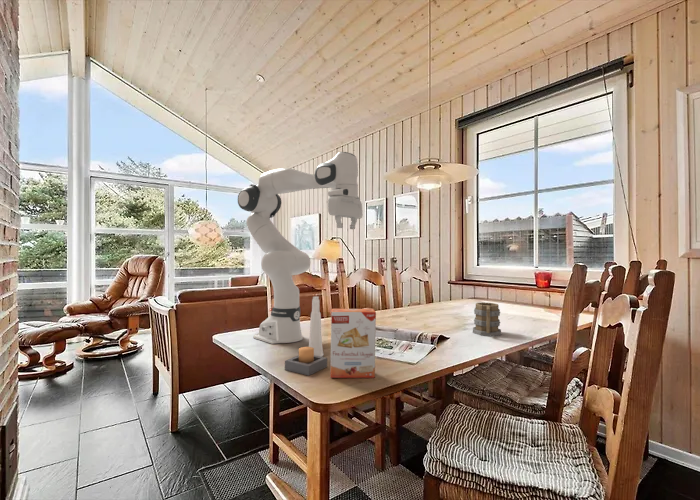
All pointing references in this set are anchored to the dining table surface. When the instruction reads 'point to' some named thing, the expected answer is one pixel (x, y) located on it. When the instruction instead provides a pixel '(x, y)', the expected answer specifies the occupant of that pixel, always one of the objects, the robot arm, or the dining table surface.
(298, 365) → the gray square tray
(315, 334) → the cosmetic bottle
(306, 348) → the button
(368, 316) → the cracker box
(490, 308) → the tankard
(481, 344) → the dining table surface
